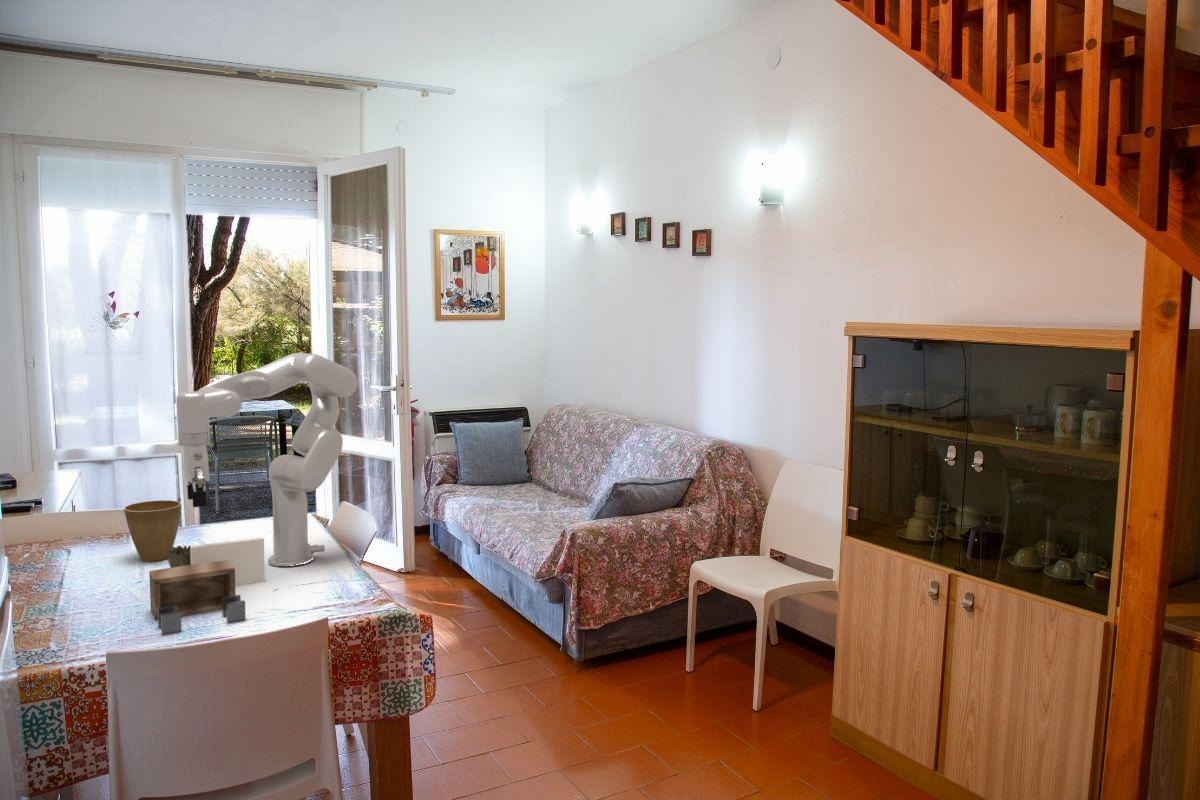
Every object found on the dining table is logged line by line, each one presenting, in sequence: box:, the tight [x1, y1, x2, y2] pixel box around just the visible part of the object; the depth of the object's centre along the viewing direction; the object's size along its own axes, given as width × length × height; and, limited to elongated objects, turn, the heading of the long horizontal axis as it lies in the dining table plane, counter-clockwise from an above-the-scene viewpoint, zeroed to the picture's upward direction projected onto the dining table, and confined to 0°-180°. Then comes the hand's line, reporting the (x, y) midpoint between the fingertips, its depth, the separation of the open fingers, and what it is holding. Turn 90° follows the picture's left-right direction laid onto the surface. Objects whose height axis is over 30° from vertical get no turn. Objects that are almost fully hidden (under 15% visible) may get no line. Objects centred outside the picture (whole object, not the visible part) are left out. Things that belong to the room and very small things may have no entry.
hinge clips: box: [157, 594, 247, 636], centre depth 203 cm, size 18×6×4 cm, turn 125°
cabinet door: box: [189, 536, 266, 587], centre depth 230 cm, size 18×3×12 cm, turn 125°
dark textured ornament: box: [167, 545, 191, 568], centre depth 237 cm, size 8×7×8 cm
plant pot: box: [123, 499, 182, 563], centre depth 253 cm, size 15×15×16 cm
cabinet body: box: [148, 560, 237, 621], centre depth 212 cm, size 18×8×10 cm, turn 125°
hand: (197, 502), depth 228 cm, fingers open, 9 cm apart
